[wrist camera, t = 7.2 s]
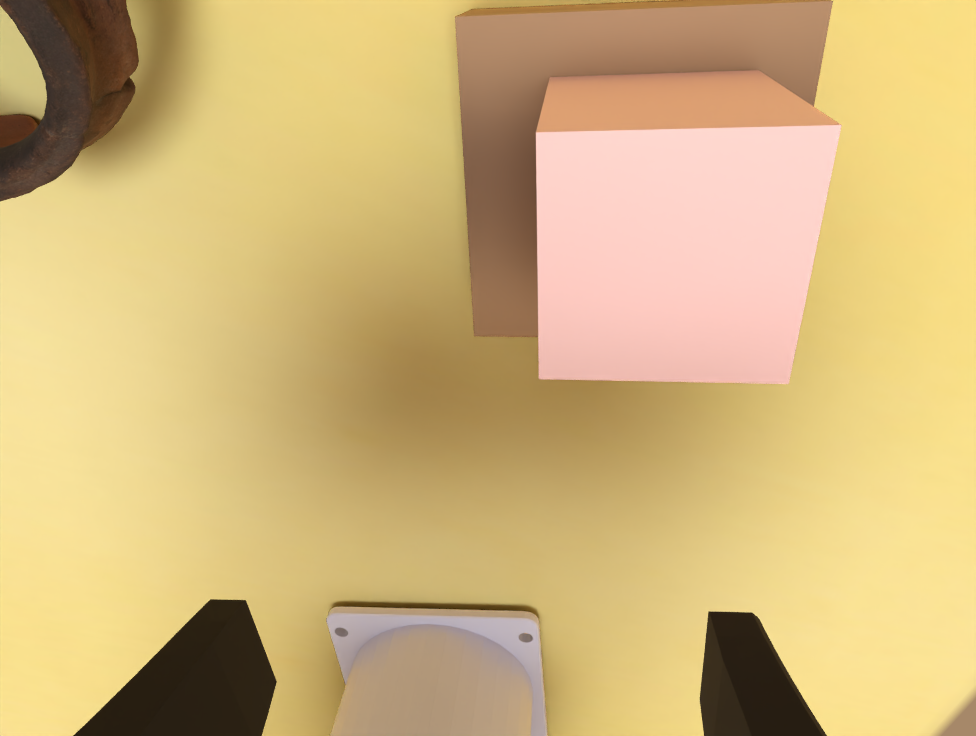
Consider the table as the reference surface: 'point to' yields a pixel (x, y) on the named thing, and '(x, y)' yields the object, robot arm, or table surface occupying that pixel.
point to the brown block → (589, 52)
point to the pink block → (676, 225)
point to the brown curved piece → (67, 86)
